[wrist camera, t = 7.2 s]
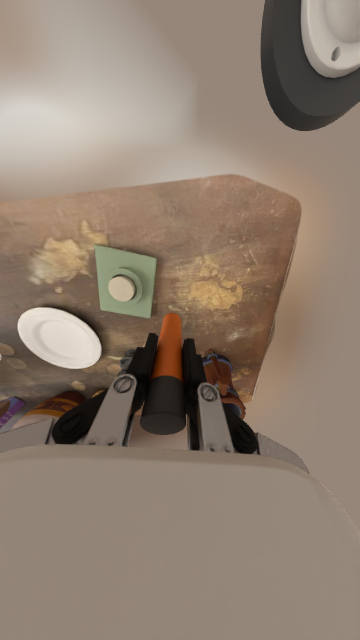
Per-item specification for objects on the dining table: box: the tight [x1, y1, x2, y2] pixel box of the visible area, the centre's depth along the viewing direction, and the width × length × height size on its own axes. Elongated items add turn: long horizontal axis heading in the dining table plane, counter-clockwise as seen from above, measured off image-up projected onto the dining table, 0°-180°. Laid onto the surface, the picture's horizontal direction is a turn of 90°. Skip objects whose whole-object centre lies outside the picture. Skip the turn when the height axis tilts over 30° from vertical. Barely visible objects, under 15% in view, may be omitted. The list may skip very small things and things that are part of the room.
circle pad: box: [108, 276, 136, 301], centre depth 26 cm, size 5×5×2 cm
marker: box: [140, 313, 186, 435], centre depth 11 cm, size 2×2×11 cm
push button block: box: [95, 244, 158, 318], centre depth 28 cm, size 14×12×3 cm
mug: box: [202, 349, 246, 420], centre depth 34 cm, size 18×12×15 cm, turn 13°
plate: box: [18, 307, 102, 369], centre depth 35 cm, size 21×21×2 cm
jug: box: [11, 391, 85, 430], centre depth 36 cm, size 20×18×30 cm
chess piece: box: [118, 349, 136, 376], centre depth 34 cm, size 6×6×12 cm
